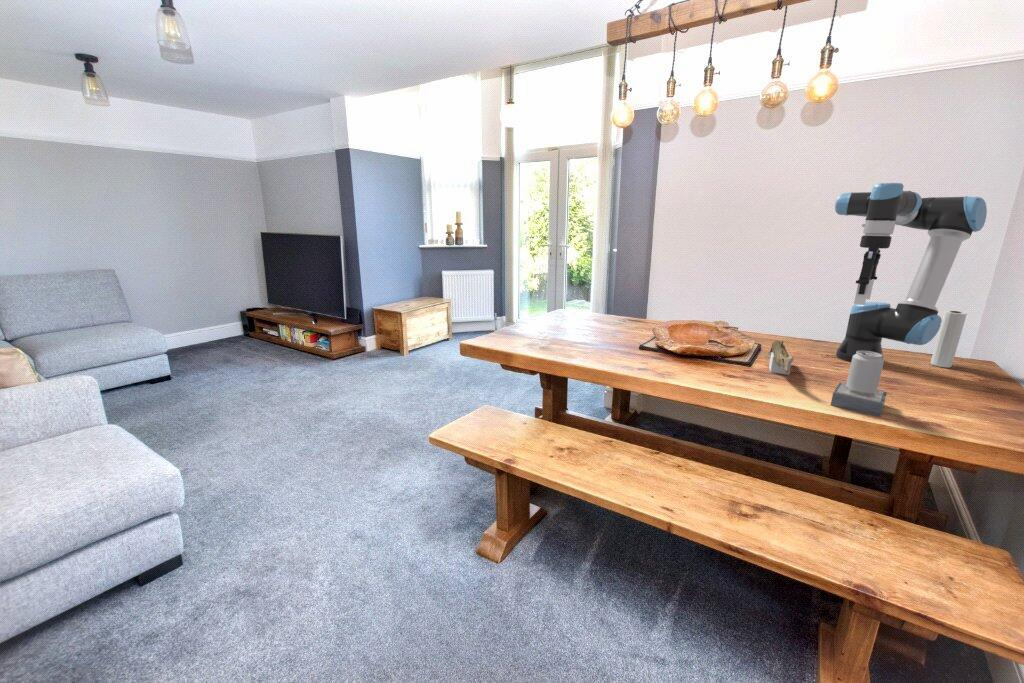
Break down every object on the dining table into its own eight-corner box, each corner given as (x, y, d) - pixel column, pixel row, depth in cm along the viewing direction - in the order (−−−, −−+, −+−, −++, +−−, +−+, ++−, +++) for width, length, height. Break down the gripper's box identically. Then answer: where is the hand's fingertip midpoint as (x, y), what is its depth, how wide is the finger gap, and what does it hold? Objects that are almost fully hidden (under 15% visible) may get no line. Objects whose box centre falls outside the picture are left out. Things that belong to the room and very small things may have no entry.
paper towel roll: (939, 367, 173) (955, 313, 167) (926, 362, 179) (940, 309, 173) (958, 368, 173) (975, 313, 167) (944, 363, 178) (959, 310, 173)
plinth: (837, 394, 147) (840, 380, 145) (884, 404, 139) (887, 390, 138) (830, 405, 138) (833, 391, 137) (880, 416, 130) (883, 402, 129)
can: (845, 384, 142) (853, 347, 139) (875, 389, 138) (884, 352, 135) (845, 391, 136) (854, 353, 133) (877, 397, 132) (886, 358, 129)
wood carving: (770, 386, 152) (775, 355, 149) (761, 357, 183) (766, 331, 180) (801, 391, 149) (807, 358, 146) (787, 360, 180) (792, 333, 177)
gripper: (866, 233, 153) (853, 295, 159) (856, 235, 136) (841, 305, 142) (895, 234, 148) (880, 298, 154) (888, 236, 131) (871, 308, 137)
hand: (861, 301), depth 148 cm, fingers open, 13 cm apart
